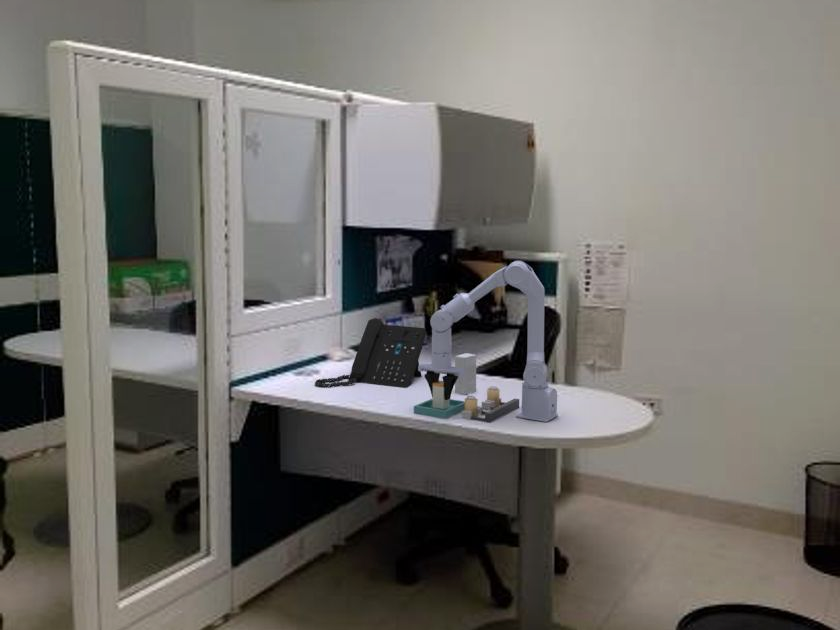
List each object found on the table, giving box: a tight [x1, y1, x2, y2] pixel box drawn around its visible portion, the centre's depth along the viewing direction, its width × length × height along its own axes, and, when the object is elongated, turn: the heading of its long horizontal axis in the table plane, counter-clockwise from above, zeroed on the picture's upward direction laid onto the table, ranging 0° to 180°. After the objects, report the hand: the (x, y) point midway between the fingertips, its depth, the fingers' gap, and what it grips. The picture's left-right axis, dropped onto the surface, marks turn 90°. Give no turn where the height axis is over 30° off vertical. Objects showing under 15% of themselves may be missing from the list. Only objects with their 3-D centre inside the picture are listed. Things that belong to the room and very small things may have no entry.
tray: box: [413, 398, 465, 420], centre depth 230 cm, size 11×13×2 cm
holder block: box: [461, 397, 520, 424], centre depth 228 cm, size 9×19×2 cm, turn 148°
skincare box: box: [454, 352, 477, 396], centre depth 251 cm, size 6×4×12 cm
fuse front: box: [464, 395, 479, 417], centre depth 224 cm, size 4×4×6 cm
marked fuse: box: [432, 380, 451, 409], centre depth 229 cm, size 4×4×7 cm
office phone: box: [314, 317, 427, 388], centre depth 265 cm, size 29×28×20 cm
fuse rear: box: [486, 386, 501, 407], centre depth 235 cm, size 4×4×6 cm
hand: (441, 398), depth 229 cm, fingers closed on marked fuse, 4 cm apart
